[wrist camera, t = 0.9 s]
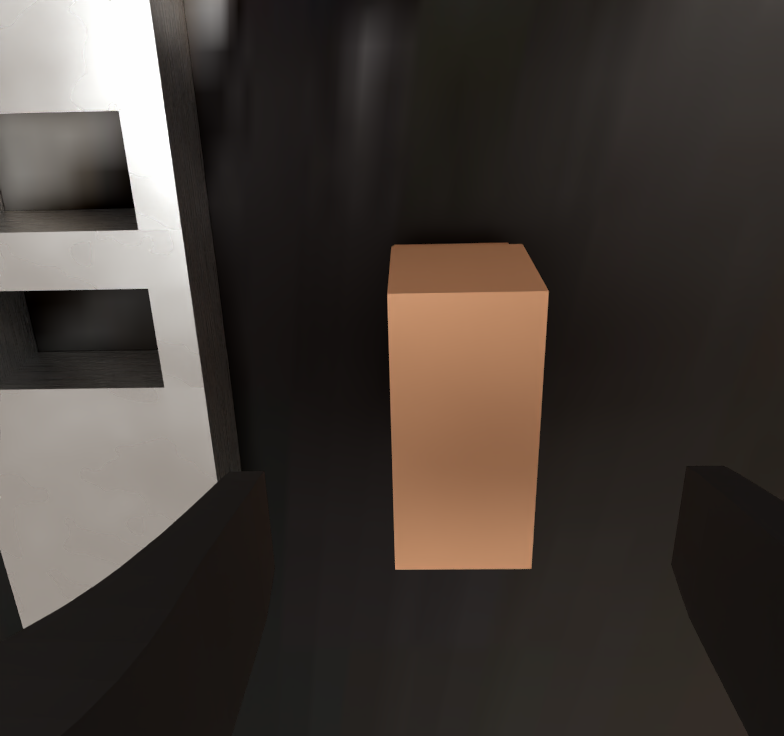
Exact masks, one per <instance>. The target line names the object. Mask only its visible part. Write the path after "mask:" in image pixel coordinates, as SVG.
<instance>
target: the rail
mask: <svg viewBox="0 0 784 736" xmlns="http://www.w3.org/2000/svg"><path fill="white" fill-rule="evenodd" d="M84 111H119V116H120V122H121V128H122V134H123V140H124V146H125V152H126V158H127V164H128V170H129V176H130V182H131V188H132V194H133V200H134V206H135V209H88V210H40V211H4V206H3V202H2V198H1V194H0V550H1V553H2V557H3V560H4V564H5V567H6V571H7V574H8V577H9V581H10V584H11V588H12V591H13V594H14V598H15V601H16V605H17V608H18V611H19V615H20V618H21V622H22V625H23V629H24V628H26V627H28V626H30V625H31V624H33V623H35V622H37V621H38V620H40V619H42V618H44V617H45V616H47V615H49V614H51V613H52V612H54V611H56V610H58V609H59V608H61V607H63V606H64V605H66V604H67V603H69V602H71V601H72V600H74V599H75V598H77V597H78V596H80V595H81V594H83V593H84V592H86V591H87V590H89V589H90V588H92V587H93V586H95V585H96V584H98V583H99V582H100V581H102V580H103V579H105V578H106V577H107V576H109V575H110V574H111V573H113V572H114V571H116V570H117V569H118V568H120V567H121V566H122V565H123V564H125V563H126V562H127V561H128V560H130V559H131V558H132V557H133V556H134V555H136V554H137V553H138V552H139V551H141V550H142V549H143V548H144V547H146V546H147V545H148V544H149V543H150V542H152V541H153V540H154V539H155V538H157V537H158V536H159V535H160V534H162V533H163V532H164V531H165V530H166V529H167V528H168V527H169V526H170V525H172V524H173V523H174V522H175V521H176V520H177V519H178V518H179V517H180V516H182V515H183V514H184V513H185V512H186V511H187V510H188V509H189V508H190V507H191V506H193V505H194V504H195V503H196V502H197V501H198V500H199V499H200V498H201V497H202V496H203V495H204V494H205V493H206V492H207V491H208V490H210V489H211V488H212V487H213V486H214V485H215V484H216V483H217V482H218V481H219V480H220V479H221V478H222V477H223V476H225V475H226V474H227V473H228V472H229V471H242V469H241V461H240V453H239V445H238V437H237V429H236V421H235V413H234V405H233V397H232V389H231V381H230V373H229V365H228V357H227V349H226V341H225V333H224V325H223V317H222V309H221V301H220V293H219V285H218V277H217V269H216V261H215V253H214V245H213V237H212V229H211V221H210V213H209V205H208V197H207V189H206V181H205V173H204V165H203V157H202V149H201V141H200V133H199V125H198V117H197V109H196V101H195V93H194V85H193V77H192V69H191V61H190V53H189V45H188V37H187V29H186V21H185V13H184V5H183V0H0V114H4V113H44V112H84ZM95 289H148V291H149V297H150V303H151V309H152V315H153V321H154V327H155V333H156V340H157V346H158V350H140V351H73V352H38V350H37V346H36V342H35V337H34V333H33V329H32V325H31V320H30V316H29V312H28V308H27V304H26V299H25V295H24V291H38V290H95Z"/></svg>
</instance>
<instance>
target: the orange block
mask: <svg viewBox="0 0 784 736" xmlns="http://www.w3.org/2000/svg"><path fill="white" fill-rule="evenodd" d="M548 296H549V291H548V289H547V287H546V285H545V283H544V282H543V280H542V278H541V276H540V274H539V273H538V271H537V269H536V267H535V265H534V264H533V262H532V260H531V258H530V257H529V255H528V253H527V251H526V249H525V248H524V246H523V244H509V243H461V244H409V245H394V246H392V247H391V258H390V269H389V280H388V291H387V302H388V336H389V370H390V405H391V439H392V473H393V508H394V542H395V570H413V569H531V566H532V550H533V534H534V518H535V502H536V486H537V470H538V455H539V439H540V423H541V407H542V391H543V375H544V359H545V344H546V328H547V312H548Z"/></svg>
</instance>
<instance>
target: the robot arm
mask: <svg viewBox="0 0 784 736" xmlns="http://www.w3.org/2000/svg"><path fill="white" fill-rule="evenodd" d="M671 565H672V568H673V571H674V574H675V577H676V580H677V583H678V587H679V590H680V593H681V596H682V598H683V601H684V604H685V607H686V610H687V612H688V615H689V618H690V620H691V622H692V624H693V626H694V628H695V630H696V632H697V634H698V636H699V638H700V640H701V642H702V644H703V646H704V648H705V650H706V652H707V654H708V656H709V658H710V660H711V662H712V664H713V666H714V668H715V670H716V672H717V674H718V676H719V678H720V680H721V682H722V684H723V686H724V688H725V690H726V692H727V694H728V696H729V698H730V700H731V702H732V704H733V705H734V707H735V709H736V711H737V713H738V715H739V717H740V719H741V721H742V723H743V725H744V727H745V729H746V731H747V733H748V735H749V736H784V502H783V501H782V500H780V499H779V498H777V497H775V496H774V495H772V494H771V493H769V492H767V491H766V490H764V489H763V488H761V487H759V486H758V485H756V484H755V483H753V482H751V481H750V480H748V479H746V478H745V477H743V476H741V475H740V474H738V473H736V472H734V471H732V470H731V469H729V468H727V467H725V466H687V468H686V474H685V480H684V487H683V493H682V500H681V506H680V512H679V519H678V525H677V531H676V538H675V544H674V551H673V557H672V563H671ZM274 570H275V564H274V555H273V546H272V537H271V528H270V519H269V510H268V501H267V492H266V483H265V474H264V471H229V472H228V473H227V474H226V475H225V476H223V477H222V478H221V479H220V480H219V481H218V482H217V483H216V484H215V485H214V486H213V487H212V488H211V489H210V490H208V491H207V492H206V493H205V494H204V495H203V496H202V497H201V498H200V499H199V500H198V501H197V502H196V503H195V504H194V505H193V506H191V507H190V508H189V509H188V510H187V511H186V512H185V513H184V514H183V515H182V516H180V517H179V518H178V519H177V520H176V521H175V522H174V523H173V524H172V525H170V526H169V527H168V528H167V529H166V530H165V531H164V532H163V533H162V534H160V535H159V536H158V537H157V538H155V539H154V540H153V541H152V542H150V543H149V544H148V545H147V546H146V547H144V548H143V549H142V550H141V551H139V552H138V553H137V554H136V555H134V556H133V557H132V558H131V559H130V560H128V561H127V562H126V563H125V564H123V565H122V566H121V567H120V568H118V569H117V570H116V571H114V572H113V573H111V574H110V575H109V576H107V577H106V578H105V579H103V580H102V581H100V582H99V583H98V584H96V585H95V586H93V587H92V588H90V589H89V590H87V591H86V592H84V593H83V594H81V595H80V596H78V597H77V598H75V599H74V600H72V601H71V602H69V603H67V604H66V605H64V606H63V607H61V608H59V609H58V610H56V611H54V612H52V613H51V614H49V615H47V616H45V617H44V618H42V619H40V620H38V621H37V622H35V623H33V624H31V625H30V626H28V627H26V628H24V629H23V630H21V631H19V632H17V633H16V634H14V635H12V636H10V637H9V638H7V639H5V640H3V641H1V642H0V736H232V733H233V730H234V726H235V723H236V720H237V716H238V713H239V710H240V707H241V703H242V700H243V697H244V693H245V690H246V687H247V683H248V680H249V677H250V673H251V670H252V667H253V664H254V660H255V657H256V653H257V650H258V647H259V643H260V640H261V637H262V633H263V630H264V626H265V623H266V619H267V613H268V607H269V602H270V596H271V589H272V583H273V576H274Z"/></svg>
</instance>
